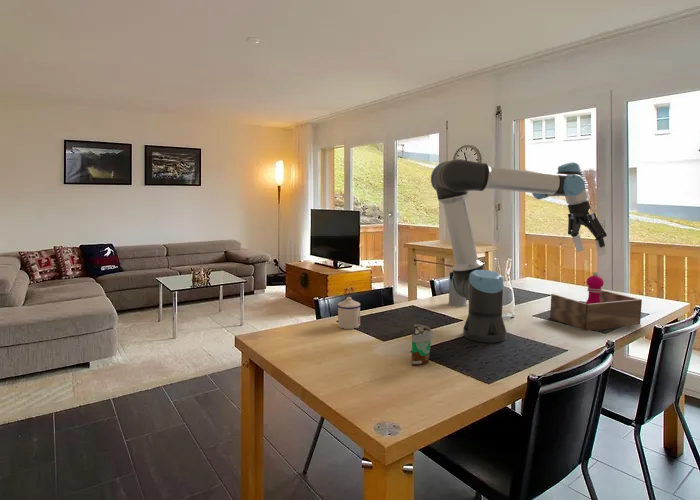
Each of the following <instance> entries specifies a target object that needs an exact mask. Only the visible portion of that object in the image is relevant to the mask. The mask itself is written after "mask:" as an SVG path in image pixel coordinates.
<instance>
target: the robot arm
mask: <svg viewBox="0 0 700 500" xmlns="http://www.w3.org/2000/svg"><path fill="white" fill-rule="evenodd" d="M430 183H431V186H432V188H433V189H434V190H435V191H436V195H437V200H438V202H440V203H442V204H443V210H444V215H445V220H446V224H447V230H448V233H449V234H448V235H449V237H450V245H451V249H452V253H453V258H454V265H453V266H452V272H453V274H454V275H453V277H452V285H453V288H454V290H455V291H456V292H457V293H458V294H459V295H460V296H462V297H463V298H465V299H467V301H468V314H467V317H466V321H465V323H464V326H463V329H462V336H463V337H464V338H465V339H468V340H470V341H474V342H478V343H490V344H491V343H492V344H495V343H501V342H504V341H505V340H507V339H508V338H507V335H508V334H507V333H508V332H507V329H506V325H505V322H504V320H503V319H504V318H503V304H504V303H503V299H504V298H503V297H504V278H503V276H502V275H501V274H500V273H498V272H496V271H493V270H488V269H485V268H484V267H485V266H484V263H483V262H482V261H480V260H479V258H478V252H477V248H476V243H475V238H474V233H473V229H472V223H471V219H470V218H471V217H470V213H469V208H468V203H467V197H468V196H469V195H470V192H473V191H474V192H475V191H476V192H477V191H478V192H483V191H485V190H486V189H488V190H497V191H507V192H508V191H511V192H521V193H531V194H532V196H533V197H534V198H535V199H536V200H542V199H546V198H548V197H565V201H566V204H568V205H567V209H568V214H567V218H568V224H567V225H568V226H567V234H568V235H569V236H571V238H572V240H573V243H574V247H575V250H576V253H579V252H582V251H584V250H585V249H584V245H583V241H582V238H581V234H580V233H579V232H580V230H581V227H582V226H583V227H585V228H587V229H588V231H589V232H590V233H591V235H593V237H594V238H595V239H594V242H595V246H596V249H597V253H598V256H600V257H601V256H604V255H607V253H608V252H607V249H606V243H605V240H604V238H605V237H608V236H607V233H606V231H605V229H604V227H603V226H602V224H601V223H600V221H599V219H598V218H597V214H596V213H595V212H593V213H590V212H589V211H590V210H591V204H590V200H589V196H588V193H587V190H586V186H585V185H586V182H585V180H584V178H583V172H582V170H581V166H580V164H579V162H577V161H571V162H568V163H567V162H566V163H565V164H561V165H560V166H558V167H557V172H556V173H553V172H543V171H535V170H533V171H532V170H524V169H514V168H505V167H494V166H489V164H488V163H484V162H477V161H471V160H467V159H466V160H465V159H461V158H456V159H452V160H448V161H443V162H440V163H439V164H438V165H437V166H435V167H434V168H433V170H432V171H431V175H430Z"/></svg>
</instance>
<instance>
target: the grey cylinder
mask: <svg viewBox="0 0 700 500" xmlns="http://www.w3.org/2000/svg"><path fill="white" fill-rule="evenodd" d="M453 275H454V274H453V271H451V272H449V279H448V284H449V285H448V303H447V306H450V307H453V306H455V307H456V308H464V307H467V306H468V303H467V301H468V300H467V299H465V298H463V297H462V296H460V295H459V294H458V293H457V292H456V291H455V290H454V288H453V285H452V277H453Z"/></svg>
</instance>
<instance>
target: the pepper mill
mask: <svg viewBox="0 0 700 500" xmlns="http://www.w3.org/2000/svg"><path fill="white" fill-rule="evenodd" d="M598 275H599V273H598V272H597V271H594V272H593V273H592V275H591V276H589V277H587V279H586V285H587V286H588V287H587V290H586V291H587V292H588V298H587V300H586V302H585V303H586V304H592V303H601V301H600V292H602V291H601V290H603V289H602V287H603V286H604V283H605V281H604V279H603V278H602V277H600V276H598Z"/></svg>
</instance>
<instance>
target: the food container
mask: <svg viewBox="0 0 700 500" xmlns="http://www.w3.org/2000/svg"><path fill="white" fill-rule="evenodd" d="M433 338H434V334H433V331H432V328H430V326H428V325H424V324H423V325H422V324H417V323H416V324H413V333H412V334H411V367H421V366H422V367H423V366H425V365H427V364H429V362H430V355H431V343H432V339H433Z"/></svg>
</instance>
